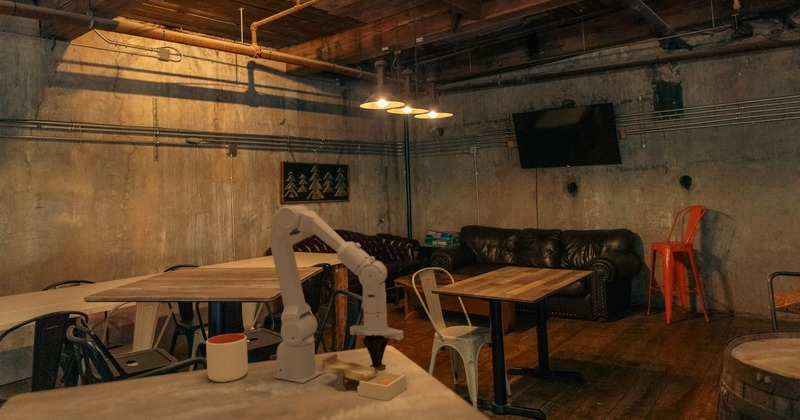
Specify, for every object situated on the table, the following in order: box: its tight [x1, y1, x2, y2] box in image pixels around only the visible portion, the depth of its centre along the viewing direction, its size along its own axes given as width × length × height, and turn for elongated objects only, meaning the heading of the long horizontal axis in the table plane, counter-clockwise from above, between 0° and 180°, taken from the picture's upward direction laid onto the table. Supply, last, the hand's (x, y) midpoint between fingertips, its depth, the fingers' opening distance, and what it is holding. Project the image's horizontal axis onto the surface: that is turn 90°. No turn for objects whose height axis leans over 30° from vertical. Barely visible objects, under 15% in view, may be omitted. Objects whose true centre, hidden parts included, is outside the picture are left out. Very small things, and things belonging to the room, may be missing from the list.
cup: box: [205, 333, 249, 383], centre depth 132 cm, size 10×10×10 cm
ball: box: [381, 379, 392, 385], centre depth 117 cm, size 3×3×3 cm
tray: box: [356, 370, 407, 402], centre depth 118 cm, size 8×8×3 cm
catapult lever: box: [321, 352, 387, 382], centre depth 125 cm, size 12×10×3 cm
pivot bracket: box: [334, 372, 359, 392], centre depth 123 cm, size 3×7×4 cm, turn 150°
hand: (377, 365), depth 126 cm, fingers closed, pressing on catapult lever
